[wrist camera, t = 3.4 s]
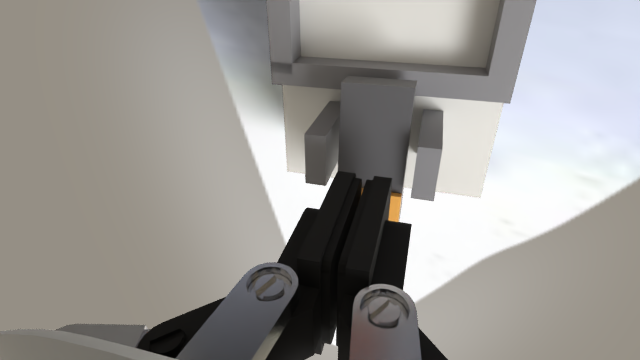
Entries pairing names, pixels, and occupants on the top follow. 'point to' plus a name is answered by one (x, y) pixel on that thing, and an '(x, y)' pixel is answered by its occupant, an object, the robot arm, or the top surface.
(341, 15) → the box
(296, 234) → the robot arm
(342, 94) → the breaker lever
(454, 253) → the top surface
